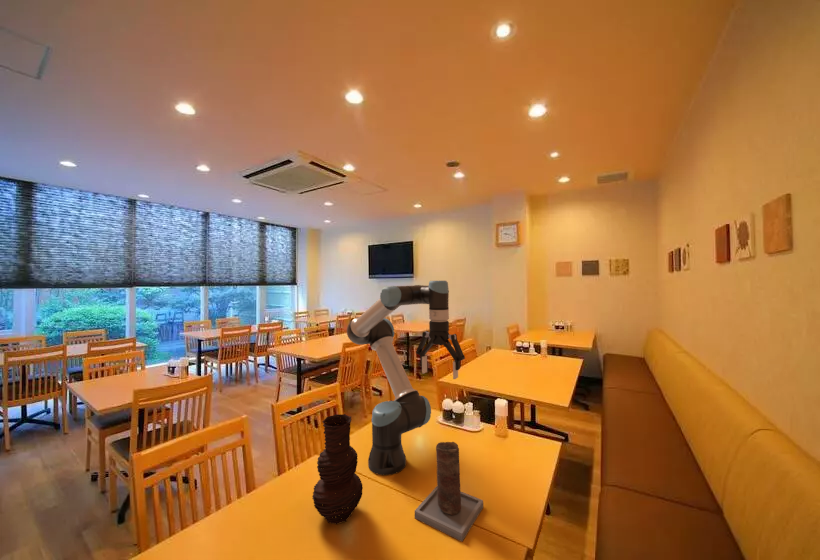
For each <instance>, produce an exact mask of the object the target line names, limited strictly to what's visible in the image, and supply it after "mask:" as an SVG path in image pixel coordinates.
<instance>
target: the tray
mask: <svg viewBox="0 0 820 560" xmlns="http://www.w3.org/2000/svg"><path fill="white" fill-rule="evenodd" d="M483 508H484V499H481V498H478V497H476V496H473V495H470V494H468V493H466V492H463V491H461V510H460V512H459V513H458V514H456V515H451V514H448V513H444V512H443V511H442V510H441V509H440V508H439V506H438V495H437V485H436V486H435V487H434V489H432V490H431V492H430V493H429V494H428V495H427V496H426V498H424V500H423V501H422V502H420V504H419V505H418V506H417V507H416V508H415V510H414V519H416V520H417V521H419V522H422V523H424V524H425V525H428V526H429V527H432V528H434V529H435V530H438V531H439V532H442V533H444V534H446V535H448V536H449V537H452V538H454V539H456V540H458V541H460V542H463V541H464V540H465V538H466V536H467V535H468V533H469V531H470V529H471V528H472V526H473V525H474V523H475V522H476V520H477V519H478V517H479V515H480V513H481V512H482V511H483Z"/></svg>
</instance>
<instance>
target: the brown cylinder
mask: <svg viewBox="0 0 820 560" xmlns="http://www.w3.org/2000/svg"><path fill="white" fill-rule="evenodd" d="M435 451H436V453H435V454H436V483H437V485H436V486H437V495H438V506H439V508H440V509H441V510H442V511H443V512H444V513H448V514H451V515H456V514H458V513H459V512H460V510H461V492H462V490H461V476H460V475H461V473H460V470H461V469H460V448H459V445H458V444H457V442H455V441H445V442H438V443H437V444H436V445H435Z"/></svg>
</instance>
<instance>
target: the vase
mask: <svg viewBox="0 0 820 560" xmlns="http://www.w3.org/2000/svg"><path fill="white" fill-rule="evenodd" d="M321 422H322V423H323V425H322V426H323V427H324V428H323V430H324V431H323V434H324V441H325V442H324V445H325V446H324V449H323V451H321V452H319V456H318V457H317V461H316V464H317V467H316V468H317V472H318V476H319V480H317V482H316V484H315V485H313V492H312V496H311V497H312V500H313V507H314V509H316V511H317V513H318V514H319V515H320V516H322V517H323V518H324V519H325V520H326V522H327V523H329V524H332V525H338V524H341V523H345V522H347V520H348V519H349V518H350V517H351V516H352V513H354V511H355V509H357V507H358V505H359V504H360V501H361V500H362V497H363V490H364V489H363V483H362V480H361V478H360V476H359V475H358V474H357V473H356V471H357V466H358V452H357V451H356V450H355V448H354V447H353V446H352V445H351V437H350V435H351V424H352V423H351V422H352V416H351V415H350V416H349V415H347V414H346V413H344V414H336V413H335V414H333V415H330V416H326V417H325V418H324V419H323V420H322V421H321Z"/></svg>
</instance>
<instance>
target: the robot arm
mask: <svg viewBox="0 0 820 560" xmlns="http://www.w3.org/2000/svg"><path fill="white" fill-rule="evenodd" d="M449 292H450V291H449V282H448V281H447V280H430V281H429V282H428V285H421V284H415V285H390V286H384V287H383V288H382V289H381V292H380V296H379V298H378V299H377V300H376V301H375V302H374V303H373V304H372V305H371V306H370V307H369V308H367V309H366V310H365V311H364V312H362V314H361V315H360V316H357V317H355V318H353V319H352V320H351V321H350V322H349V323H348V325H347V328H346V335H347V337H348V340H349V341H351V342H352V343H353V344H356V345H359V346H362V345H369V346H370V349H371V350H372V351H375V352H376V355H377V357H378V360H379V362H380V364H381V367H382V369H383V371H384V374H385V376H386V379H387V381H388V383H389V385H390V388H391V390H392V393H393V395H394V400H386V401H382V402H379V403H378V404H376V405H375V406H374V408H373V409H372V412H371V413H372V414H371V415H372V416H371V430H372V431H371V434H372V435H371V437H372V440H371V442H372V444H371V448H370V452H369V456H368V458H367V459H368V460H367V466H368V469H369V470H370V471H371V472H372V473H374V474H377V475H380V476H391V475H395V474H398V473H400V472H401V471H403V470H404V469H405V468H406V465H407V457H406V453H405V451H404V447H403V443H402V435H403V434H405V433H408V432H411V431H412V430H415V429H418V428H421V427H423V426H424V425H427V423H429V421H430V420H431V415H432V407H431V404H430V401H429V399H428V398H427V397H425V396H424V395H420V393H419V391H418V390H417V389H414V388H413V386H412V384H411V381H410V379H409V376H408V375H407V373H406V371H405V369H404V367H403V364H402V361H401V359H400V357H399V355H398V353H397V351H396V349H395V346H394V344H393V342H394V337H395V328H394V325H393V323H392V322H391V320H389V319H388V318H387V317H388V316H389V315H391V314H392V313H393V312H394V311H395V310H397V309H398V308H399V307H400V306H401V307H402V306H408V305H411V306H412V305H420V304H421V305H428V308H429V309H428V313H429V315H428V317H429V323H428V324H429V325H428V328H429V329H428V330H429V331H428V330H425V331H423V332H422V336H421V339H420V342H419V344H418V346H417V349H416V350H415V354H416V355H419V357H420V359H419V362H420V363H419V364H420V365H421V373H422V374H425V373H426V374H427V373H428V355H427V353H428V352H429V350H431V348H433V347H432V346H433V345H436V346H437V345H439V346H443V347H445V349H446V351H448V353H449V354H450V356H451V358H453V361H452V379H453V380H456V379H458V378H459V370H460V369H461V361H463V360H464V361H465V359H466V357H465V355H464V351H463V350H462V348H461V345H460V343H459V341H458V337H457V336H458V335H457V334H456V333H453V334H450V333H449V331H450V322H449V321H448V320H449V319H450V316H449V315H450V314H449V313H450V312H449V311H450V310H449V297H450V296H449ZM428 338H430V340H428ZM427 340H428V342H427ZM450 341H451V342H450ZM426 343H427V344H426ZM425 345H426V346H425Z"/></svg>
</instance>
